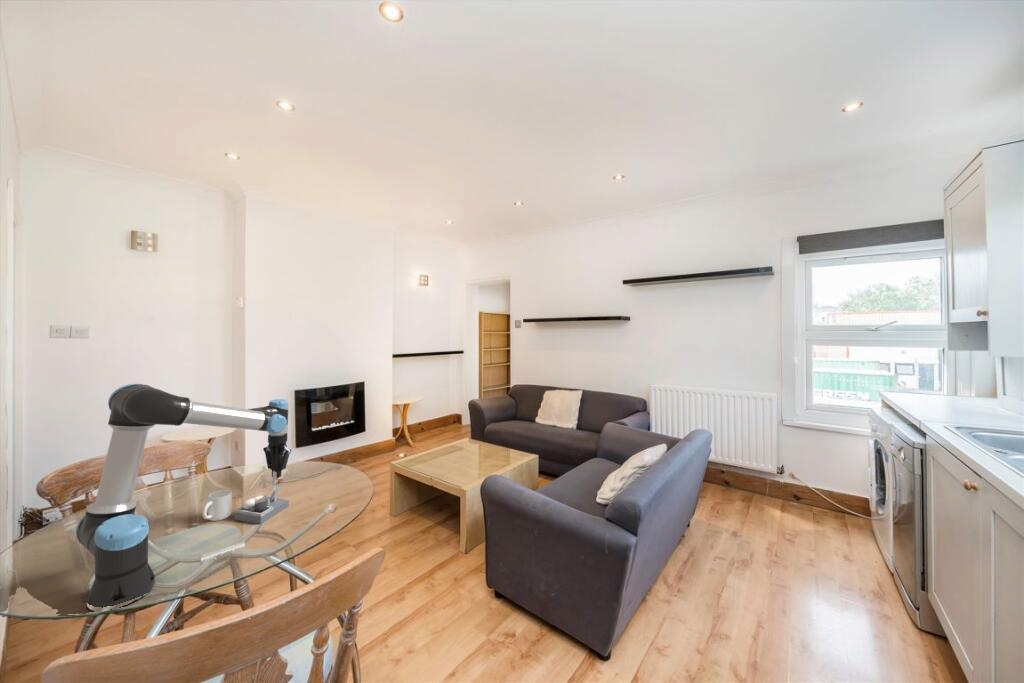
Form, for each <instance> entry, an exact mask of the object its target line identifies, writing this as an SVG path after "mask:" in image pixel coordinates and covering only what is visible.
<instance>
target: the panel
mask: <svg viewBox="0 0 1024 683" xmlns="http://www.w3.org/2000/svg"><path fill="white" fill-rule="evenodd" d="M270 497H271V496H266V495H265V496H262V497H261V498H259V499H257V500H255V504H256V503H259V502H266V503H267V510H265V511H264V512H262V513H257V512H255V506H254V507H252V508H249V509H243V505H242V506H241V507H239V508H237V509H235V512H234V520H235V521H241V522H245V523H246V522H247V523H253V524H258V525H262V524H263V523H264V522H266V521H268V520H269V519H271V518H273V517H274V516H276V515H278V514H279V513H281V512H282V511H284V510H285V509H288V508H289V507H290V500H289V499H284V498H278V497H277V495H276V494H275V496H274V498H273V501H272V502H270ZM288 506H289V507H288Z"/></svg>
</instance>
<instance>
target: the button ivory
mask: <svg viewBox="0 0 1024 683" xmlns="http://www.w3.org/2000/svg"><path fill="white" fill-rule="evenodd" d="M255 502H256V498H255V497H247V498H245V499H242V506H243V509H249V508H252V507H254V506H255Z"/></svg>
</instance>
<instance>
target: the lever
mask: <svg viewBox="0 0 1024 683" xmlns="http://www.w3.org/2000/svg"><path fill="white" fill-rule="evenodd" d="M283 482H284V478H281V477H280V479H279V480H278V481H277V485H275V487H274V489H273V491H272V493H271V495H270V496H269V497H270V502H272V501H273V498H274V496H275V495H276V494H277V493H278V490H279V488H280V486H281V484H282V483H283Z"/></svg>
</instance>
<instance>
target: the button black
mask: <svg viewBox="0 0 1024 683" xmlns="http://www.w3.org/2000/svg"><path fill="white" fill-rule="evenodd" d="M265 510H267V503H266V502H259V503H256V504H255V512H257V513H262V512H264V511H265Z"/></svg>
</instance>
